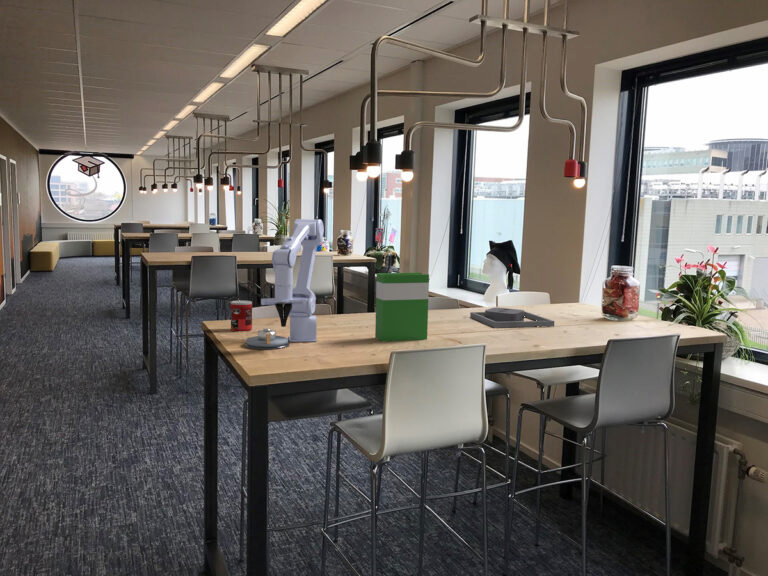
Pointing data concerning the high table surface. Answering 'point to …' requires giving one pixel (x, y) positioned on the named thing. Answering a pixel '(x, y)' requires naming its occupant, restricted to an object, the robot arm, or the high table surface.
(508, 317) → the streaming box
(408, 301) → the green cereal box
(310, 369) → the high table surface
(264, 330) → the cover
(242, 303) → the canned food
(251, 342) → the turntable
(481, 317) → the black tray rim
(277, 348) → the turntable base
